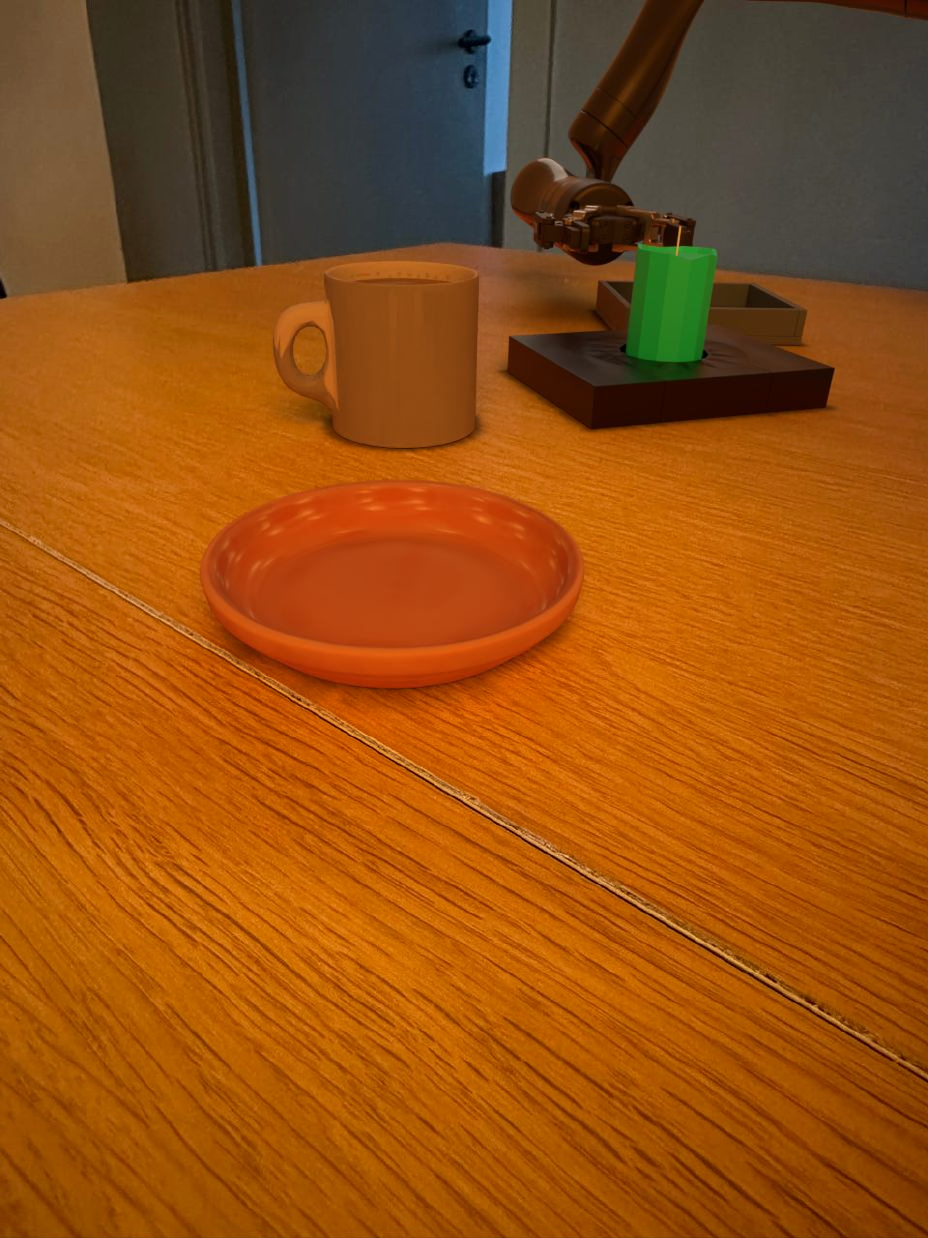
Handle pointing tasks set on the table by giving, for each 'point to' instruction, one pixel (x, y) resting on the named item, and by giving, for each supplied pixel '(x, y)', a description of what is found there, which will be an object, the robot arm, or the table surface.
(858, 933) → the table surface
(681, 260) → the candle
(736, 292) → the brown open tray
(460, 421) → the coffee mug
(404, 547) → the saucer
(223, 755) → the table surface
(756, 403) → the dark brown flat block
